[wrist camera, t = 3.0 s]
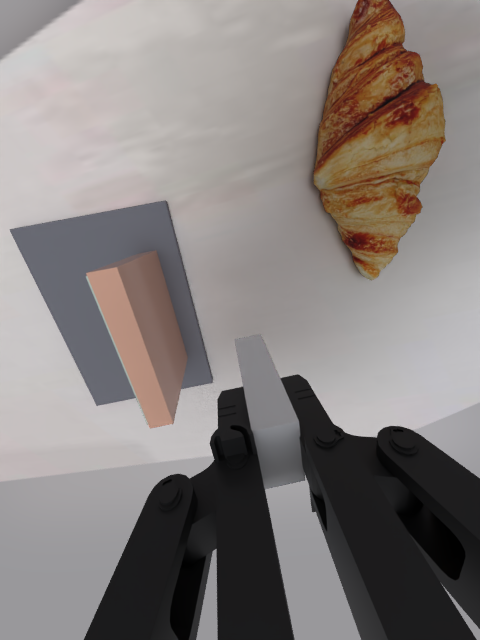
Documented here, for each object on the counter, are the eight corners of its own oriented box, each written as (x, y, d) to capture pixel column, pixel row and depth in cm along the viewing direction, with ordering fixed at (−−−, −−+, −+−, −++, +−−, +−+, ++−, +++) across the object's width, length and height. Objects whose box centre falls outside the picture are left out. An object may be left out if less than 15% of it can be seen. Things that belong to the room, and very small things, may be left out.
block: (156, 250, 23) (116, 267, 14) (187, 357, 28) (173, 423, 19) (135, 254, 23) (82, 273, 14) (170, 360, 28) (147, 428, 19)
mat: (166, 201, 23) (165, 200, 22) (212, 378, 30) (212, 382, 29) (16, 229, 23) (9, 229, 22) (99, 401, 30) (96, 405, 29)
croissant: (370, 263, 30) (450, 265, 24) (315, 292, 26) (393, 305, 20) (362, 32, 22) (481, -62, 15) (279, 20, 18) (395, -116, 11)
